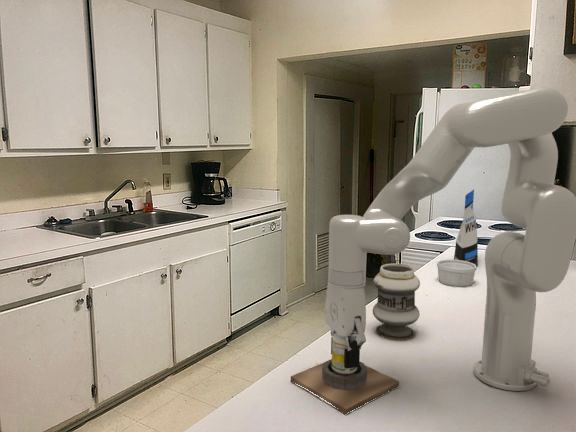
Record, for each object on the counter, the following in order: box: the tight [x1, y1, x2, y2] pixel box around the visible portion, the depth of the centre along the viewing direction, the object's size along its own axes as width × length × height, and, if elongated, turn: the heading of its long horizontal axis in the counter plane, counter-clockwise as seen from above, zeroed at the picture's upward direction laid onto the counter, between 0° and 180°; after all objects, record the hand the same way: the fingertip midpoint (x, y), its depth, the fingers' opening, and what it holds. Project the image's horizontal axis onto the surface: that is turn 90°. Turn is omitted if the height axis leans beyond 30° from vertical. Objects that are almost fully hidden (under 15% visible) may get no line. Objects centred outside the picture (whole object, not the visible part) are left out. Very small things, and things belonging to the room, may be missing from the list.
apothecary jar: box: [372, 263, 421, 341], centre depth 124 cm, size 12×12×18 cm
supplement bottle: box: [331, 331, 357, 374], centre depth 98 cm, size 5×5×10 cm
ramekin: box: [436, 259, 477, 288], centre depth 169 cm, size 13×13×7 cm
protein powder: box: [453, 189, 479, 268], centre depth 192 cm, size 10×24×30 cm, turn 152°
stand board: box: [290, 358, 400, 415], centre depth 99 cm, size 16×16×4 cm
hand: (344, 359), depth 98 cm, fingers closed on supplement bottle, 5 cm apart
